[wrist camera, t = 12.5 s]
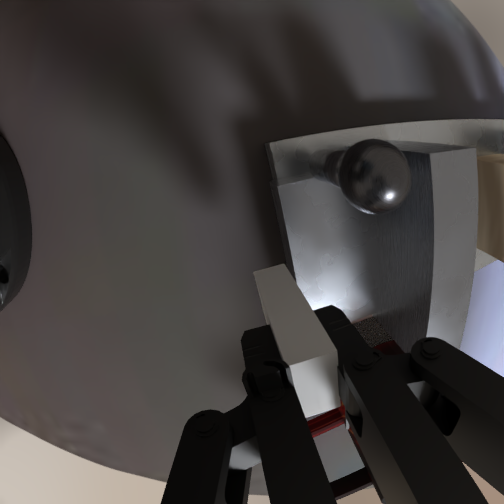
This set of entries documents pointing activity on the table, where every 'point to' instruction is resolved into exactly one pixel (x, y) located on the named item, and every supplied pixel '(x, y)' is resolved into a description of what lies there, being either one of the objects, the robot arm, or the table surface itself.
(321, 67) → the table surface
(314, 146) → the vise bed
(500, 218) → the block
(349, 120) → the table surface
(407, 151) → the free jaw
